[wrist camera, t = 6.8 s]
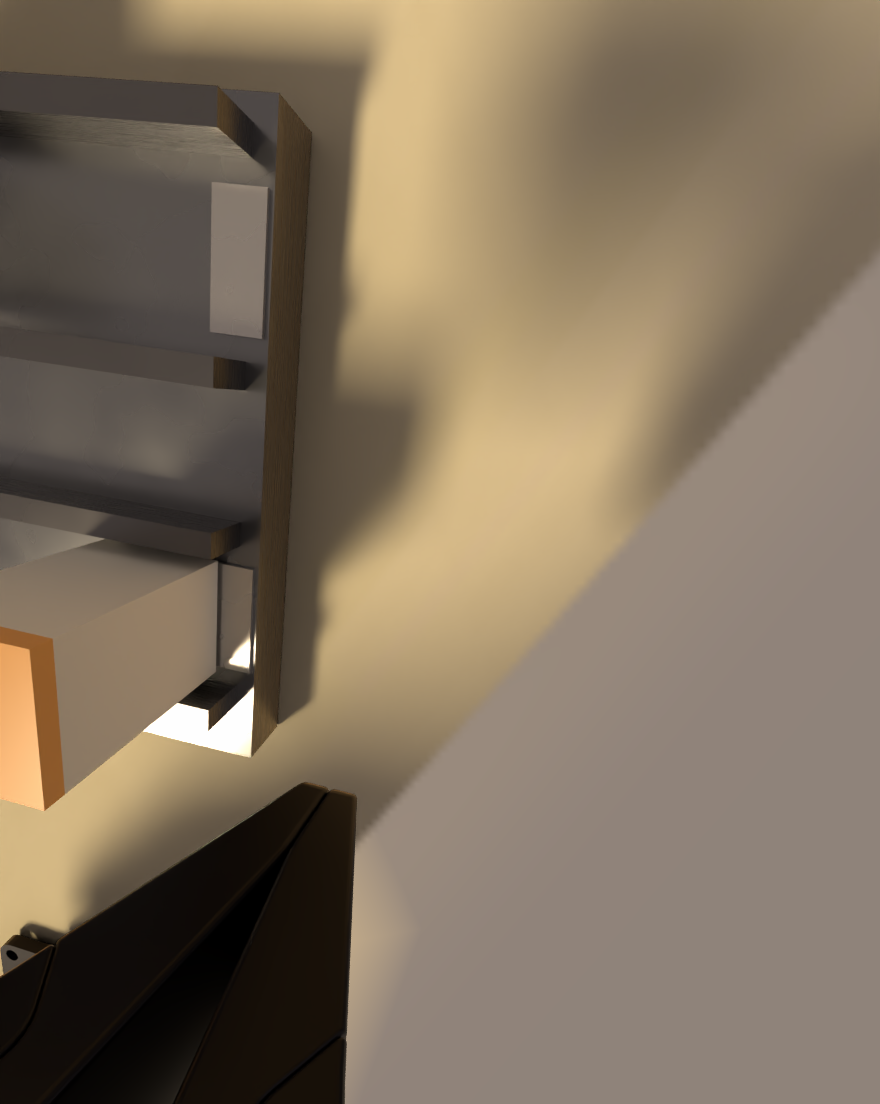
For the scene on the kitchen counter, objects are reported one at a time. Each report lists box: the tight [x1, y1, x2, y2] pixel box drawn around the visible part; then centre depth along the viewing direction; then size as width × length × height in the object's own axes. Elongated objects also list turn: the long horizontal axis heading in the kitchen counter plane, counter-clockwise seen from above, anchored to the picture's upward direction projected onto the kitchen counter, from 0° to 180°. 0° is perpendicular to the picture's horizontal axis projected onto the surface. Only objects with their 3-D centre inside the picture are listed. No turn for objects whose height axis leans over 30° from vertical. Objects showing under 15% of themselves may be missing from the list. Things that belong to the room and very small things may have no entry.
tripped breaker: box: [0, 539, 218, 811], centre depth 11 cm, size 3×3×5 cm
